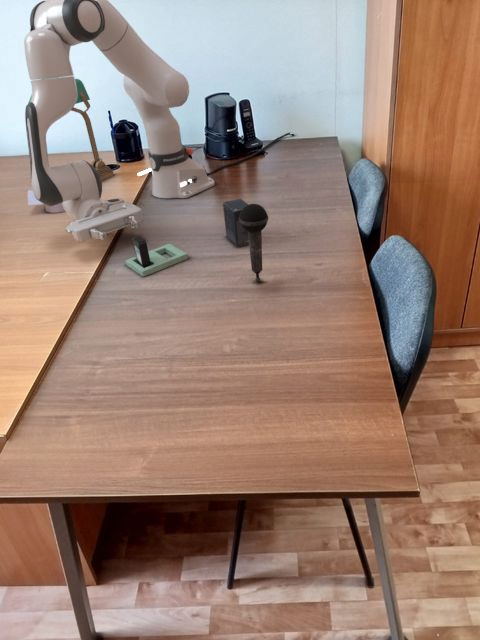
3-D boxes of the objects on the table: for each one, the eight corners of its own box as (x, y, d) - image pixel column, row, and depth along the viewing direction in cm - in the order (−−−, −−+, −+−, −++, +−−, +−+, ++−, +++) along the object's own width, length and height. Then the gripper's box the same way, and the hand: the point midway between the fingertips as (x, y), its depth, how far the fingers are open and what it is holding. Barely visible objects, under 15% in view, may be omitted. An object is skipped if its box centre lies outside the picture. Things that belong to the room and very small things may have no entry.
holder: (170, 248, 150) (169, 243, 149) (188, 258, 144) (187, 253, 143) (126, 265, 143) (125, 260, 142) (143, 276, 137) (142, 271, 136)
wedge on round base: (31, 215, 175) (71, 211, 176) (24, 195, 171) (65, 191, 172) (36, 204, 182) (75, 201, 183) (30, 185, 178) (69, 181, 179)
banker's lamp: (121, 176, 201) (98, 73, 180) (79, 195, 187) (49, 86, 166) (92, 170, 208) (67, 71, 187) (49, 188, 194) (18, 83, 173)
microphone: (243, 276, 134) (236, 200, 122) (270, 274, 135) (266, 197, 123) (245, 290, 129) (238, 212, 117) (273, 287, 129) (269, 209, 117)
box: (255, 242, 150) (252, 206, 143) (236, 247, 148) (233, 211, 141) (243, 232, 155) (240, 197, 149) (225, 237, 153) (222, 202, 147)
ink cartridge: (137, 264, 143) (131, 237, 138) (145, 262, 144) (139, 234, 139) (143, 271, 139) (137, 244, 134) (151, 269, 140) (146, 241, 135)
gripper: (59, 217, 145) (81, 231, 136) (125, 196, 155) (150, 208, 146) (65, 238, 148) (87, 254, 140) (130, 216, 159) (154, 230, 150)
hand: (120, 230), depth 143 cm, fingers open, 8 cm apart
